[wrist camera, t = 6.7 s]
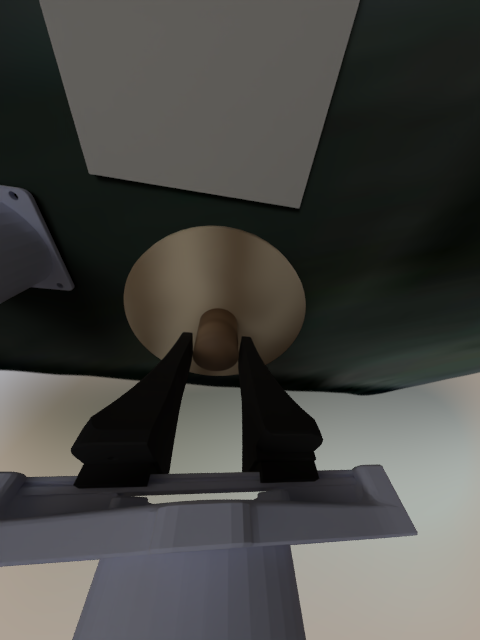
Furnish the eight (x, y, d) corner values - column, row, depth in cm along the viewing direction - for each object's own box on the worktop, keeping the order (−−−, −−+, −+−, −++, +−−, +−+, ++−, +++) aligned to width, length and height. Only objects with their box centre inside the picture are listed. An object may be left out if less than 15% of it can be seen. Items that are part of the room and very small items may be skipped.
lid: (146, 366, 19) (128, 407, 15) (102, 209, 10) (38, 223, 7) (277, 371, 20) (287, 410, 17) (332, 241, 12) (374, 265, 8)
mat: (93, 173, 13) (89, 173, 12) (-178, -804, 4) (-230, -931, 3) (297, 207, 14) (299, 208, 14) (464, -380, 5) (483, -424, 5)
